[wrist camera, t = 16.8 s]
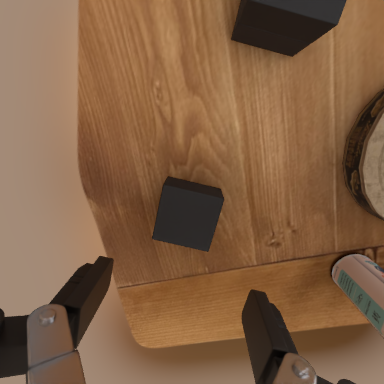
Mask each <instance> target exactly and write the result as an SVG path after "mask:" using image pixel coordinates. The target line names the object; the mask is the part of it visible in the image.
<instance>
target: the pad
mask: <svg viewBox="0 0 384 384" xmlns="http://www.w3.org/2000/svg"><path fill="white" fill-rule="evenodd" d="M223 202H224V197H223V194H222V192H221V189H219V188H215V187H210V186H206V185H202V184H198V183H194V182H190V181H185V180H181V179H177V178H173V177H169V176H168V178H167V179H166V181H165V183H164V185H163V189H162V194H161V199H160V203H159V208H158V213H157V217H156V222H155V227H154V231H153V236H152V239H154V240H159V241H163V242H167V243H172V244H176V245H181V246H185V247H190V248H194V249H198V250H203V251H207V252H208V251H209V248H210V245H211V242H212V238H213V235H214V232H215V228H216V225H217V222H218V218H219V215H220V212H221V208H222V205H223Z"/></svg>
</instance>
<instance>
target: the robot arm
mask: <svg viewBox="0 0 384 384" xmlns="http://www.w3.org/2000/svg"><path fill="white" fill-rule="evenodd" d="M113 261H114V260H113V259H112V258H108V257H103V256H99V257H98V259H97V260H96V261H95V263H94V264H89V263H86V264H85V265H83V266H81V267H80V268H78V270H77V271H76V272H75V273H74V274H73V276H72V277H71V278H70V279H69V281H68V282H67V283H66V284H65V285H64V286H63V288H62V289H61V290H60V291H59V292H58V294H57V295H56V296H55V297H54V298H53V300H52V301H51V302H50V303H49V304H48V305H44V306H41V307H39V308H37V309H36V310H34V311H33V312H32V313H31V314H30V315H25V316H14V317H13V316H12V317H4V312H3V310H2V309H0V378H3V377H10V376H16V375H23V374H26V384H86V383H85V378H84V373H83V369H82V364H81V360H80V356H79V352H78V350H75V349H76V348H77V346H78V344H79V343H80V341H81V339H82V337H83V335H84V333H85V331H86V330H87V328H88V326H89V324H90V322H91V320H92V319H93V317H94V315H95V313H96V311H97V309H98V308H99V306H100V304H101V302H102V300H103V298H104V297H105V295H106V293H107V291H108V288H109V285H110V281H111V274H112V268H113ZM242 324H243V329H244V333H245V338H246V342H247V346H248V351H249V356H250V360H251V365H252V369H253V374H254V378H255V383H256V384H332V383H331V382H329V381H327V380H325V379H323V378H321V377H319V376H317V375H316V373H315V371H314V369H313V367H312V366H311V365H310V363H309V362H308V361H307V360H305V359H304V358H303V357H301V356H300V355H299V354H298V352H297V350H296V347H295V345H294V343H293V341H292V338H291V336H290V334H289V331H288V329H287V327H286V325H285V322H284V320H283V318H282V315H281V313H280V311H279V310H278V309H277V308H276V306H275V305H274V304H272V303H269V300H268V298H267V295H266V293H265V292H262V291H257V290H250V292H249V295H248V298H247V300H246V303H245V305H244V308H243V311H242ZM337 384H355V383H353V382H351V381H350V380H346V379H341V380H339V381H338V383H337Z"/></svg>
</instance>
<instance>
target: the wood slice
mask: <svg viewBox="0 0 384 384" xmlns="http://www.w3.org/2000/svg"><path fill="white" fill-rule="evenodd" d="M343 169H344V176H345V182H346V186H347V188H348V189H349V191H350V193H351V194H352V196H353V198H354V200H355V201H356V203H358V204H359V205H360V206H362V207H363V208H364V209H365V210H367V211H368V212H369V213H371V214H372V215H374V216H376V217H378V218H380V219H382V220H384V89H383V90H382V91H380V92H379V93H378V94H377V95H376V96H375V97H374V98H373V100H372V101H371V102H370V103H369V104H368V105H367V106H366V108H365V109H364V110H363V111H362V112H361V113H360V114H359V116H358V118H357V120H356V122H355V124H354V126H353V128H352V130H351V132H350V134H349V136H348V138H347V142H346V147H345V153H344V158H343Z"/></svg>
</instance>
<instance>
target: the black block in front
mask: <svg viewBox="0 0 384 384" xmlns="http://www.w3.org/2000/svg"><path fill="white" fill-rule="evenodd" d="M345 3H346V0H244V2H243V6H242V10H241V14H240V17H239V21H238V23H239V24H243V25H247V26H250V27H254V28H257V29H261V30H265V31H268V32H272V33H275V34H279V35H282V36H286V37H290V38H293V39H297V40H300V41H304V42H308V43H313V42H314V41H315V40H317V39H318V38H320V37H321V36H322V35H324V34H325V33H327V32H328V31H329V30H331V29H332V28H334V27H335V26H336V25H337V24H338V22H339V19H340V17H341V14H342V11H343V8H344V6H345Z"/></svg>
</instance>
